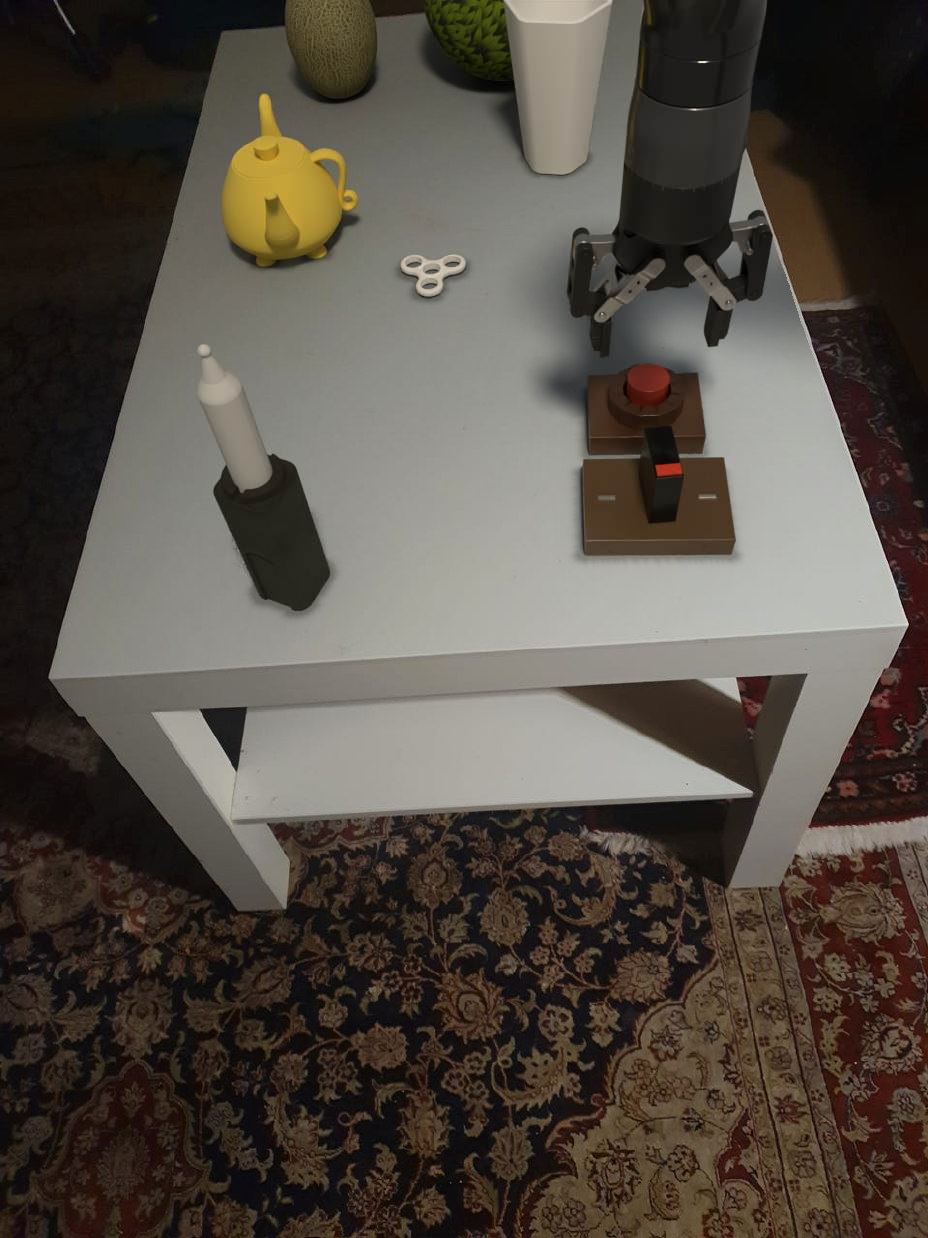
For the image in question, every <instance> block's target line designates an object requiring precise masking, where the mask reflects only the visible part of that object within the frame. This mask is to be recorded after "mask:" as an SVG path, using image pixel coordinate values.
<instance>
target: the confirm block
mask: <svg viewBox="0 0 928 1238" xmlns="http://www.w3.org/2000/svg"><path fill="white" fill-rule="evenodd" d="M640 364H641V363H635V364H633V365H630V366H627V367H625V368H623V369H621V370H619V371H618V372H617V373H608V374H607V373H605V374H587V383H586V384H587V385H586V404H587V405H586V406H587V430H588V431H587V433H588V455H589V456H605V455H606V456H608V455H609V456H610V455H613V456H615V455H616V456H617V455H618V456H619V455H641V451H642V444H643V436H644V429H645V428H649V427H660V426H672V429H673V433H674V437H675V441H676V445H677V449H678V454H679V455H680V454H681V455H684V454H685V455H686V454H703V452H704V449H705V448H704V447H705V443H706V438H707V433H706V432H707V431H706V425H705V417H704V410H703V402H702V394H701V393H702V392H701V385H700V380H699V379H700V378H699V372H697V371H696V372H675V371H674V370H673V369H670V368H668V367H665V366H663V365H660V366H661V367H663V368H664V369H665V370H666V371H667V372H668V374H669V377H670V379H669V386H668V393H667V397H666V398H665V400H664V401H663V402H661V403H660V404H658V405H655V406H640V405H638V404H635V403H633V402H632V401H630V400H629V398H628V397H627V394H626V387H627V377H628V373H629V372H630V370H631V369H632V368H633V367H635V366H637V365H640ZM655 364H656V363H655ZM656 365H658V364H656Z"/></svg>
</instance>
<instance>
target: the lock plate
mask: <svg viewBox="0 0 928 1238" xmlns="http://www.w3.org/2000/svg"><path fill="white" fill-rule="evenodd" d="M679 458H680V462H681V466H682V470H683V474H684V480H683V485H682V490H681V495H680V501H679V506H678V511H677V516H676V521H674V522H662V523H651V524H650V523H649V521H648V516H647V511H646V507H645V502H644V497H643V493H642V488H641V483H640V478H639V467H640V459H641V457H638V458H637V457H634V458H633V457H632V458H584V459H582V470H581V471H582V473H581V475H582V477H581V478H582V510H583V511H582V512H583V514H582V515H583V545H584V549H583V551H584V556H698V555H700V556H704V555H705V556H709V555H711V556H713V555H715V556H717V555H719V556H721V555H722V556H724V555H726V556H727V555H731V556H732V554H733V551H734V548H735V544H736V540H737V538H736V531H735V523H734V517H733V510H732V503H731V496H730V489H729V483H728V474H727V469H726V467H727V466H726V462H725V461H726V460H725V457H724V456H711V457H710V456H709V457H707V456H706V457H679Z"/></svg>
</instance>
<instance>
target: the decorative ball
mask: <svg viewBox="0 0 928 1238" xmlns="http://www.w3.org/2000/svg"><path fill="white" fill-rule="evenodd" d="M422 5H423V11H424V14H425V18H426V21H427V24H428V26H429V29H430V32H431V33H432V36H433V38H434V39H435V41H436V43H437V44H438V46H439V47H440V49H441V50H442V51H443V53H444V54H445V55H446V56H447V58H449V59H450V60H451V62H453V63H454V64H455V65H457V67H459V68H461V69H462V70H464V72H466V73H469V74H471V75H473V76H475V77H477V78H480V79H484V80H486V81H487V80H488V81H494V82H508V81H514V75H513V67H512V60H511V52H510V45H509V38H508V30H507V23H506V15H505V8H504V0H422Z"/></svg>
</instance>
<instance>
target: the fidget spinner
mask: <svg viewBox="0 0 928 1238" xmlns="http://www.w3.org/2000/svg"><path fill="white" fill-rule="evenodd" d="M451 262H452V263H453V262H454V263H458V265H456V266H453V267H450V266H446V265H447V264H448V263H451ZM411 263H419V264H420V265H418V266H416V267H410V266H408V265H409V264H411ZM466 266H467V262H466V259H465V258H464V257H463V256H461V255H459V254H447V255H445V256H443V257H442V258H439V259H435V260H432V259H427V258H425V256H422V255H419V254H410V255H408V256H405V257H404V258H403V259H402V260H401V261H400V269H401V271H402V272H403V273H404V274H406V275H410V276H414V277H417V278H418V280H417V281H416V283H415V284H416V285H415V289H416V292H417V293H418V295H420V296H423V297H428V298H429V297H434V296H437V295H439V294H441V292H442V291H443V289H444V282H443V281H444V279H445V278H447V277H448V276H451V275H452V276H453V275H457V274H460V273H462V272H463V271H464V270H465V269H466ZM430 270H437V272H435V273H426V272H427V271H430ZM427 284H435V285H436V286H435V287H433V288H424V286H425V285H427Z"/></svg>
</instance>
